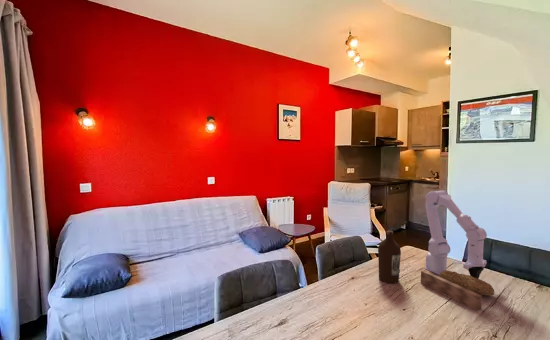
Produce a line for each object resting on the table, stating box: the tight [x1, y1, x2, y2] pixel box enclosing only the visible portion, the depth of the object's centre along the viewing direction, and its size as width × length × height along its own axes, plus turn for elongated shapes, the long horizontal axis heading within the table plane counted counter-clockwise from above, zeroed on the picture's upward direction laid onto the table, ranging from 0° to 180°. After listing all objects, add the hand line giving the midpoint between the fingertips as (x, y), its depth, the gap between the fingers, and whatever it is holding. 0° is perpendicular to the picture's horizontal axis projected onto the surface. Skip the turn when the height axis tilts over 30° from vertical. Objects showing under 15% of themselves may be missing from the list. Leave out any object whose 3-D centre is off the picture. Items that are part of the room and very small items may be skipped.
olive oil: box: [377, 230, 402, 285], centre depth 135 cm, size 11×11×25 cm
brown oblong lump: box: [439, 269, 495, 296], centre depth 125 cm, size 13×8×20 cm
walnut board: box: [420, 269, 483, 312], centre depth 120 cm, size 26×2×6 cm, turn 23°
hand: (474, 280), depth 128 cm, fingers closed
